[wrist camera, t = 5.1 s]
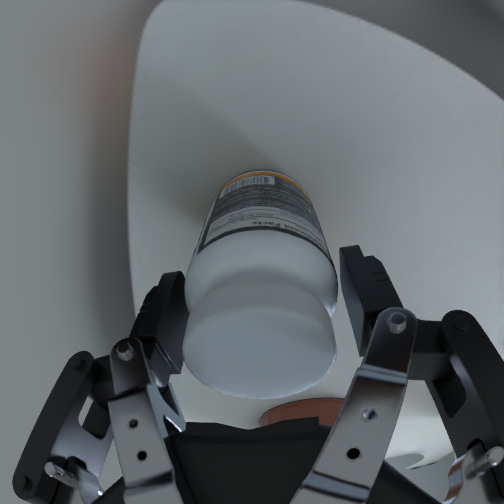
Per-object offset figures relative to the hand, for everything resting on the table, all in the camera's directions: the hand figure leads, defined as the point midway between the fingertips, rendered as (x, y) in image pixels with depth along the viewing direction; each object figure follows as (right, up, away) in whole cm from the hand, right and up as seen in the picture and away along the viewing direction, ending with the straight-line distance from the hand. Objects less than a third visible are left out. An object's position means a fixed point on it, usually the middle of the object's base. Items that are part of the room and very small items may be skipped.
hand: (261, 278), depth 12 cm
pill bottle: (0, +3, +5) cm, 6 cm away
